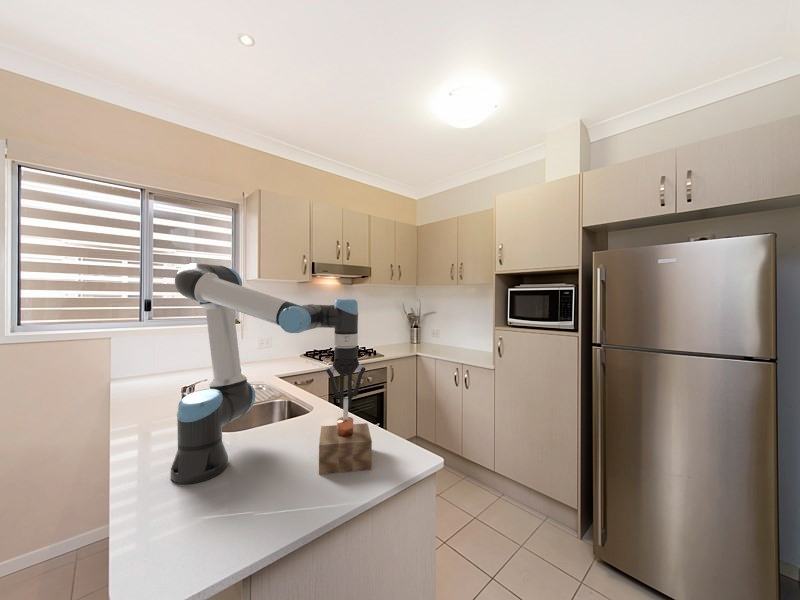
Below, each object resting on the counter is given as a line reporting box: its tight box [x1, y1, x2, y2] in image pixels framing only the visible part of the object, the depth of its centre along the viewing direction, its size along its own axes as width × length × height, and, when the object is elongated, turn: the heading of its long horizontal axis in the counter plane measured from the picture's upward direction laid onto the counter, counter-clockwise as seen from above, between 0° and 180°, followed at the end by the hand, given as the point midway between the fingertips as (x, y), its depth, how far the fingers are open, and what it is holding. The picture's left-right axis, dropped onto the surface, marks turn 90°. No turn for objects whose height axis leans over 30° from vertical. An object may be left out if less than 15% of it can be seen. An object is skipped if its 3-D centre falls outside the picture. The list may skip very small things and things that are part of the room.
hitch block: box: [318, 422, 373, 475], centre depth 106 cm, size 16×14×9 cm
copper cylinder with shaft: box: [336, 416, 354, 437], centre depth 106 cm, size 5×5×10 cm
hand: (345, 417), depth 106 cm, fingers closed
